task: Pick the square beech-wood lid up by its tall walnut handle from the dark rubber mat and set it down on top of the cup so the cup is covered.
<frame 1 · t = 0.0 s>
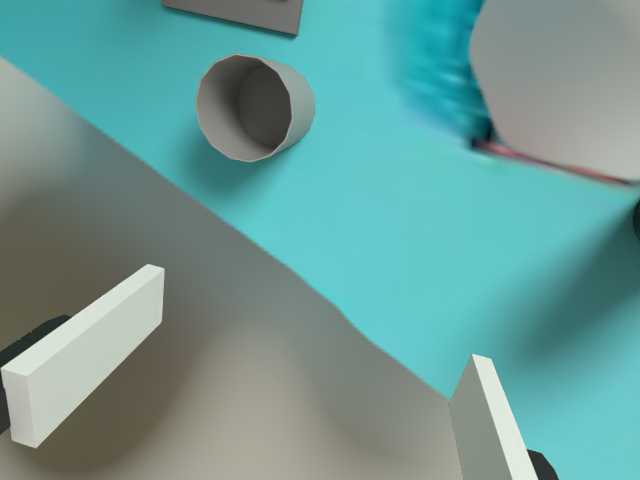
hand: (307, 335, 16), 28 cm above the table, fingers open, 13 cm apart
cup: (277, 106, 40), on the table
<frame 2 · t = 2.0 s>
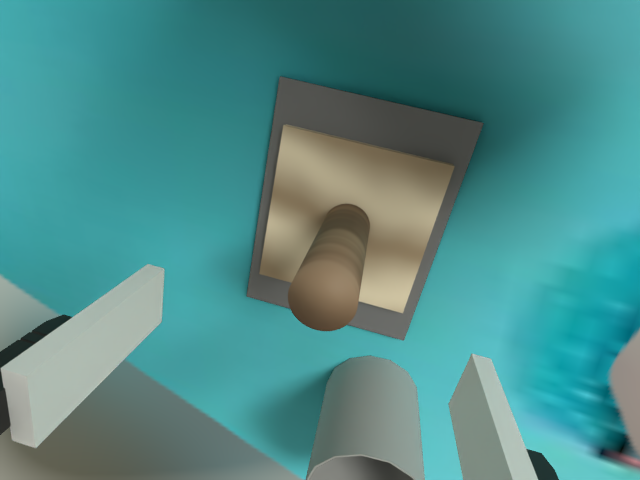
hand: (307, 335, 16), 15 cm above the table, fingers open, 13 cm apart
cup: (371, 391, 35), on the table
lid: (348, 222, 29), point 1 cm above the table, touching mat
mat: (348, 219, 29), on the table
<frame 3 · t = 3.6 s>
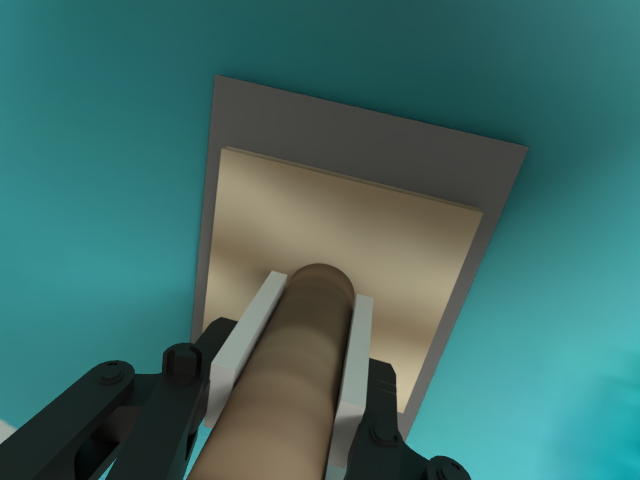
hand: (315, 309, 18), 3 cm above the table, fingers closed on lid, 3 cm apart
lid: (323, 286, 20), point 1 cm above the table, touching gripper, mat
mat: (325, 281, 20), on the table
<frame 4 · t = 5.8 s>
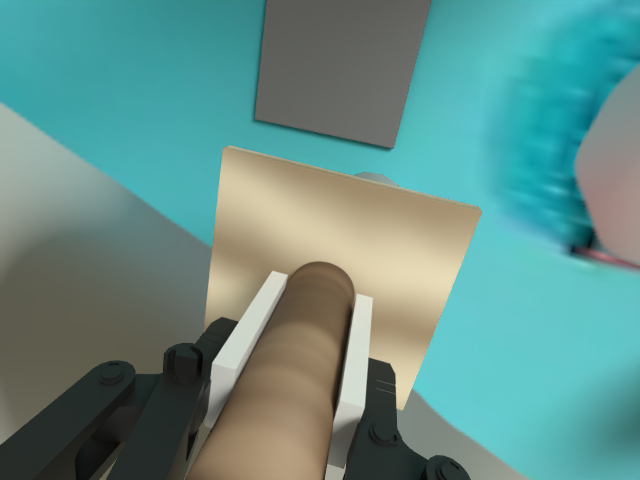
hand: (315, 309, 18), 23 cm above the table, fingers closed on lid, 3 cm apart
lid: (323, 284, 20), point 21 cm above the table, touching gripper
mat: (341, 30, 34), on the table
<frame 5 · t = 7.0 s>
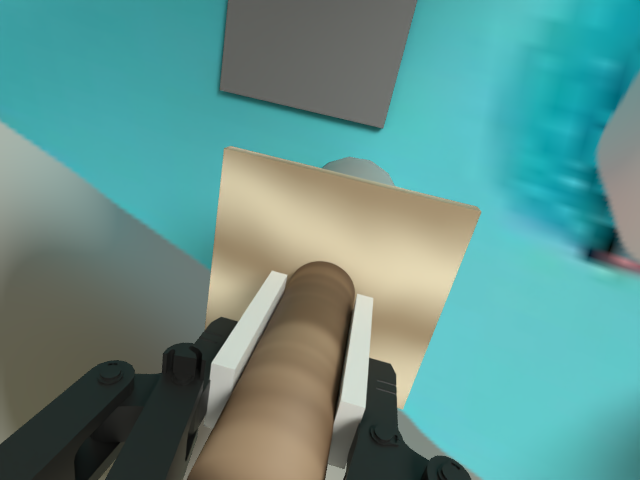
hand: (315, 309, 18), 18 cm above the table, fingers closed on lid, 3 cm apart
cup: (351, 203, 34), on the table
lid: (324, 284, 20), point 15 cm above the table, touching gripper
when the fingers open (14 cm above the table, at t = 7.9 s): lid stays where it is, resting on cup.
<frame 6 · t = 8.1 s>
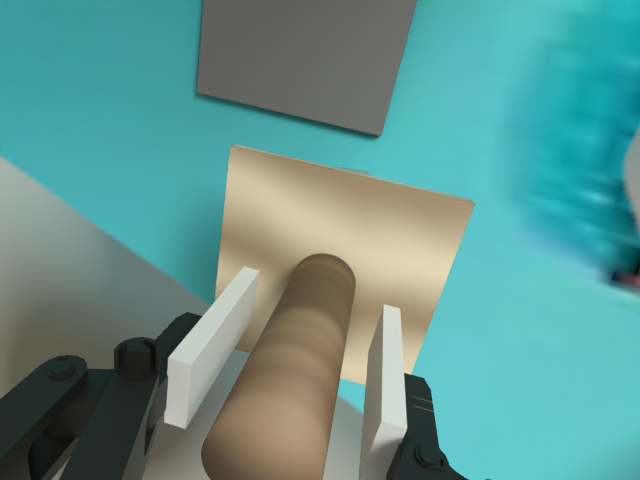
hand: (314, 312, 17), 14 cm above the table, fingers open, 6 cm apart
lid: (326, 275, 21), point 10 cm above the table, touching cup
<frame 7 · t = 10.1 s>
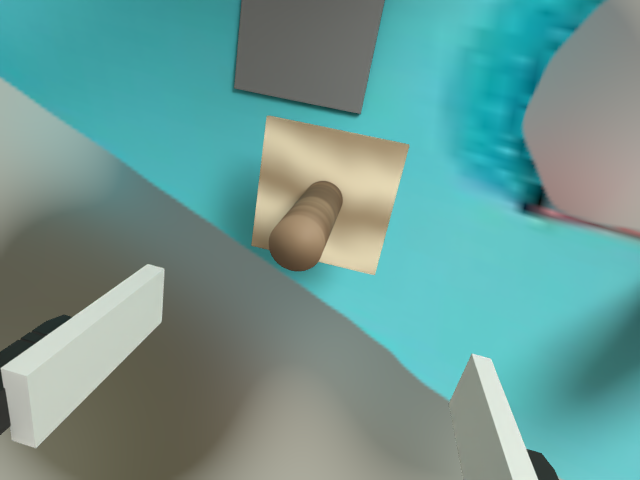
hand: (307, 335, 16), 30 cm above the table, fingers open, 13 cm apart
lid: (325, 197, 34), point 10 cm above the table, touching cup
mat: (311, 5, 37), on the table
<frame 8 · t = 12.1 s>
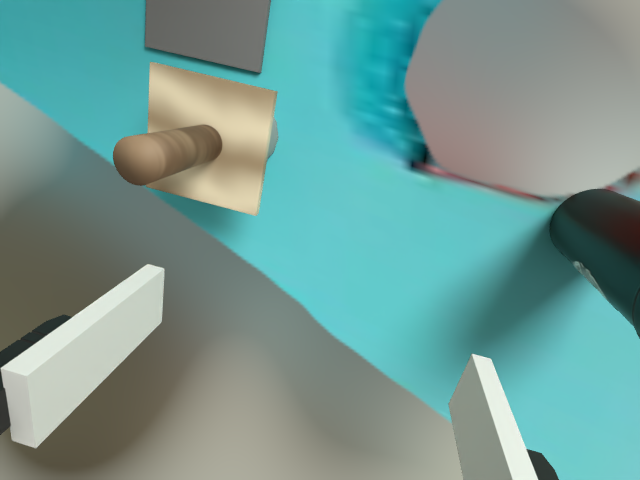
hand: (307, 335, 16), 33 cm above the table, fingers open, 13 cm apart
lid: (209, 141, 37), point 10 cm above the table, touching cup
water bottle: (589, 224, 44), on the table
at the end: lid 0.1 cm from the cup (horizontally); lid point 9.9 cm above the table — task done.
